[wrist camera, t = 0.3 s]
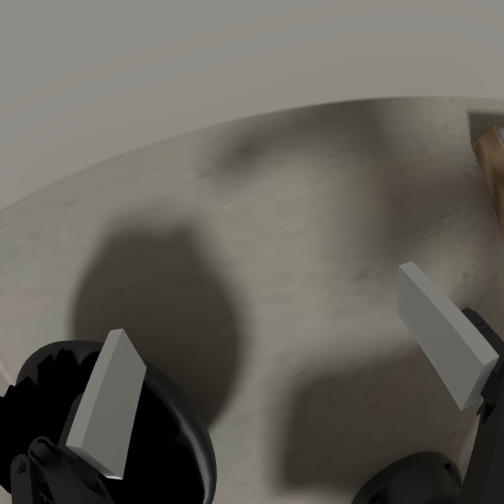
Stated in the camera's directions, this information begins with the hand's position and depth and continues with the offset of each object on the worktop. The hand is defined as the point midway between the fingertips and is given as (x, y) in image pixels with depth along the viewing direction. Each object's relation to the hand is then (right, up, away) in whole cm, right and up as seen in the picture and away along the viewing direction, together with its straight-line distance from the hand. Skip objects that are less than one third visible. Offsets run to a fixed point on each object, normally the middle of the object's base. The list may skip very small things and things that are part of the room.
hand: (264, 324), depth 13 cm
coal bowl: (-13, -15, +14) cm, 24 cm away
